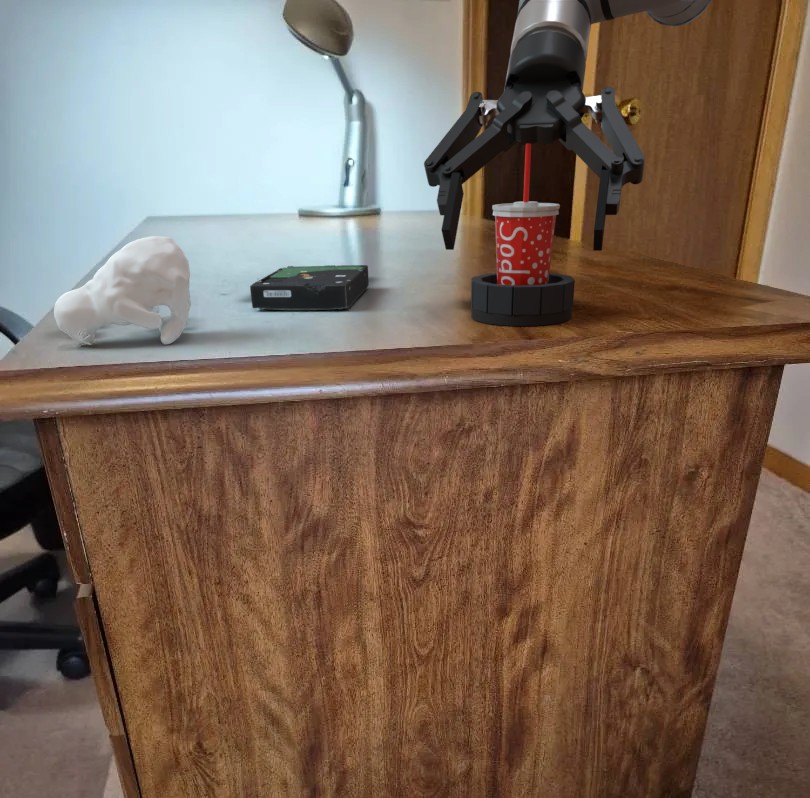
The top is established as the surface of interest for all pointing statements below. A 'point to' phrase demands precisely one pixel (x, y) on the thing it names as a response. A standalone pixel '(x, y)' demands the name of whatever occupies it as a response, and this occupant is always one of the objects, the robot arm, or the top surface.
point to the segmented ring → (522, 301)
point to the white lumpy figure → (131, 292)
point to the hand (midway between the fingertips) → (521, 240)
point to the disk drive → (310, 287)
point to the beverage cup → (524, 237)
